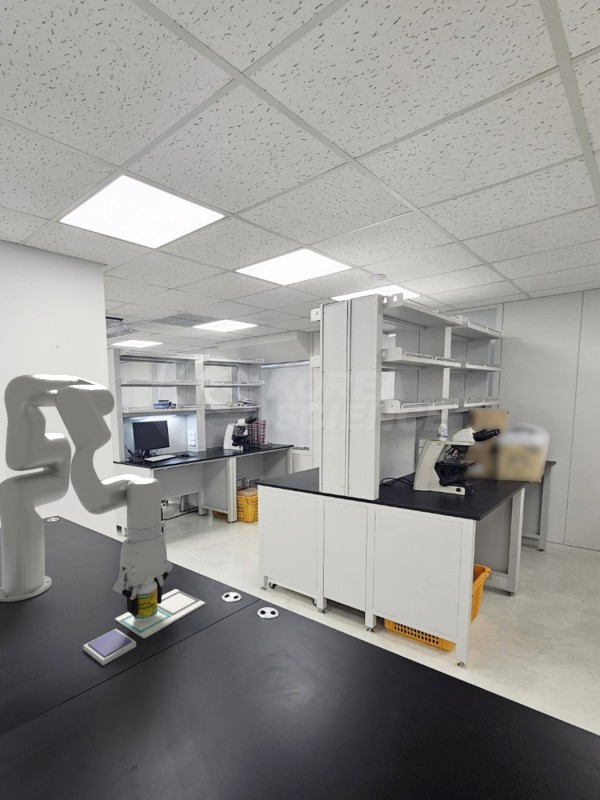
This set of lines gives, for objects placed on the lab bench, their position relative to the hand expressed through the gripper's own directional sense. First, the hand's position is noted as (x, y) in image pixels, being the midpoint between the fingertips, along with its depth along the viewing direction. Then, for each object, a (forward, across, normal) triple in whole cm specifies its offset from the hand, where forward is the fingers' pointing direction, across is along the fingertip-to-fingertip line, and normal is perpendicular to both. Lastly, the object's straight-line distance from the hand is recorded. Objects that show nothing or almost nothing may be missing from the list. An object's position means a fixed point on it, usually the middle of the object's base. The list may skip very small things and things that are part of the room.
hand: (145, 606), depth 92 cm
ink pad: (+3, +10, +3) cm, 11 cm away
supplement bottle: (+2, 0, 0) cm, 2 cm away
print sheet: (+3, -4, 0) cm, 5 cm away
